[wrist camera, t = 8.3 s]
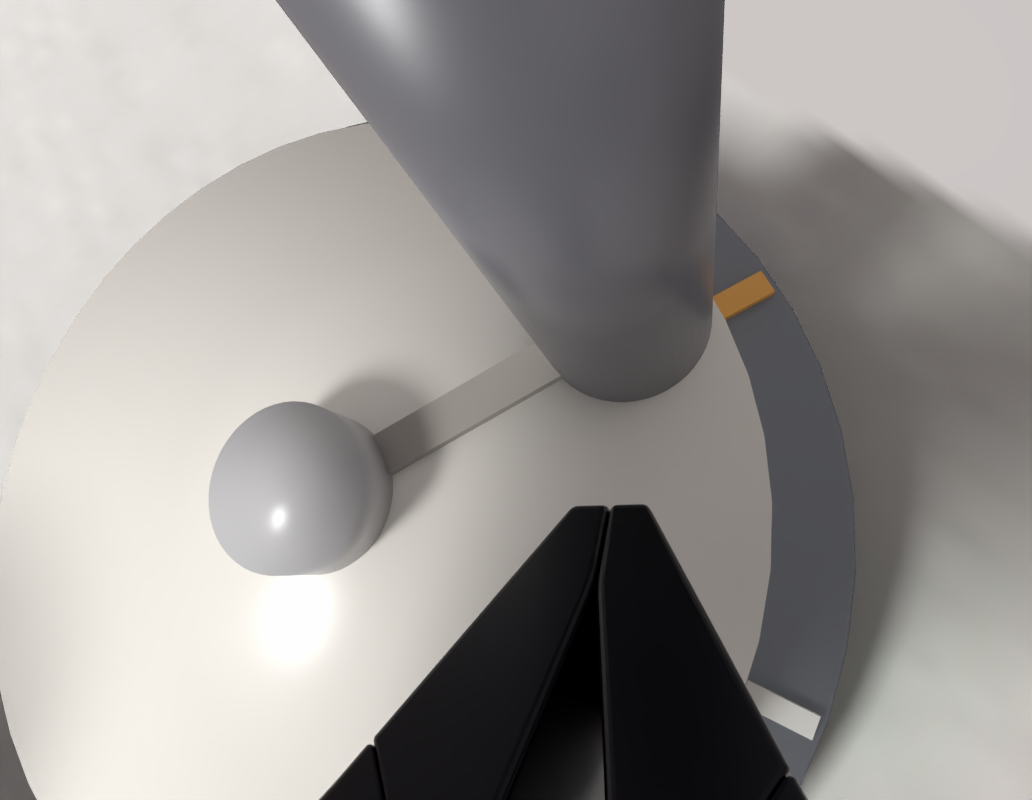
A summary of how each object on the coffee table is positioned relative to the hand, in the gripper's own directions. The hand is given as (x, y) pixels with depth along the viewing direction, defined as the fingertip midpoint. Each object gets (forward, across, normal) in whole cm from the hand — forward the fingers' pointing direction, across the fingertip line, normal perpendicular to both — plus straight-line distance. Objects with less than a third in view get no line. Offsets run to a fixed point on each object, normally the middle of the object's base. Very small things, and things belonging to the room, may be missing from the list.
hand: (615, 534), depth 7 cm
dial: (+4, +6, +3) cm, 8 cm away
